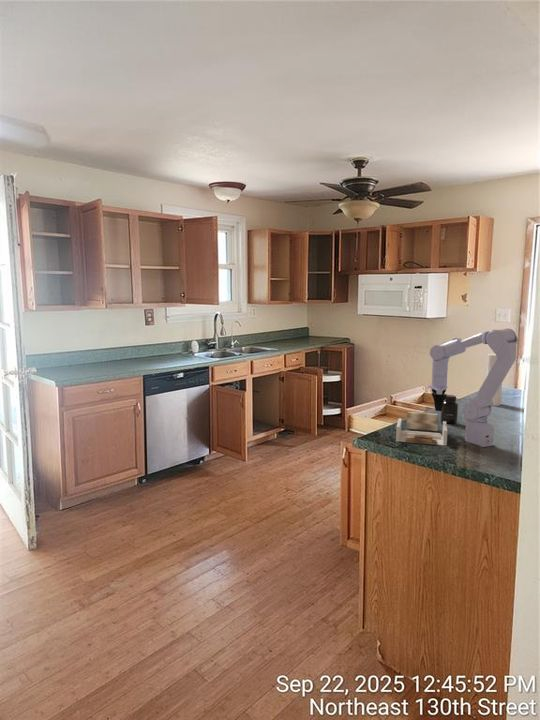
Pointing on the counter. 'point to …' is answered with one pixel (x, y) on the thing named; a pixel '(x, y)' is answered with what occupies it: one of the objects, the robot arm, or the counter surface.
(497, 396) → the cylindrical container
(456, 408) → the supplement bottle
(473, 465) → the counter surface
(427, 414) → the tall sheet
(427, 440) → the offcut stack
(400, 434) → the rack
